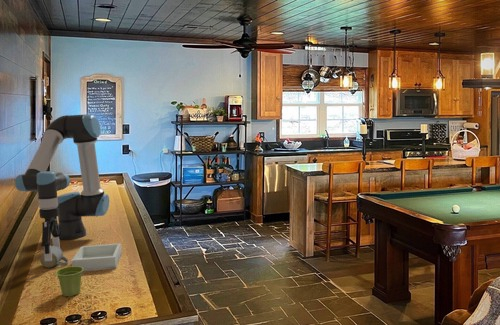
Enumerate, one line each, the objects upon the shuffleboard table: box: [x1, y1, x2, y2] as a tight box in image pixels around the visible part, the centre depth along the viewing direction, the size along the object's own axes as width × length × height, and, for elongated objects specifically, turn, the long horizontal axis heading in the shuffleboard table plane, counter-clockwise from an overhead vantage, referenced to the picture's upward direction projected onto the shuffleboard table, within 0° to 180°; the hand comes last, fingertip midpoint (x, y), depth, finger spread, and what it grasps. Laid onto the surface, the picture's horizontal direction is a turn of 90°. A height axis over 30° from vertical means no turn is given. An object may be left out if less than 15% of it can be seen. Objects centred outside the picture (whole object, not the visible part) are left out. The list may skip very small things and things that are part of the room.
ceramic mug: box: [39, 245, 69, 269], centre depth 201 cm, size 11×8×8 cm
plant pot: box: [55, 265, 84, 297], centre depth 168 cm, size 9×9×9 cm
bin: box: [71, 243, 122, 273], centre depth 202 cm, size 20×17×5 cm
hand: (52, 256), depth 201 cm, fingers open, 13 cm apart
